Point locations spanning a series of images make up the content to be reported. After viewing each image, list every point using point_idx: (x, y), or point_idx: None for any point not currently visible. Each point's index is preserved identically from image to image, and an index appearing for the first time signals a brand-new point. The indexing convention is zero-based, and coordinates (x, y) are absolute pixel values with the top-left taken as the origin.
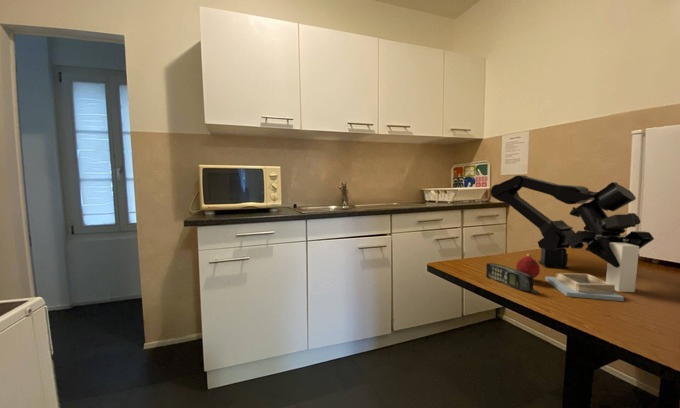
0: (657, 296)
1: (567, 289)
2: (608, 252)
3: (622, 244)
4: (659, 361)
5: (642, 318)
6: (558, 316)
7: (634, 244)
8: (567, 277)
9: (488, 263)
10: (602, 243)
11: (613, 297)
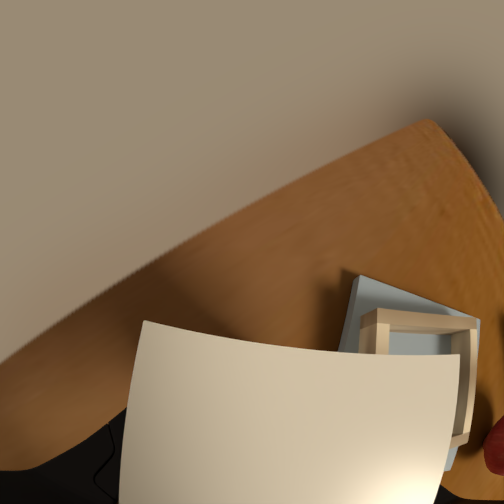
0: (160, 307)
1: None
2: None
3: (366, 484)
4: (436, 124)
5: (387, 188)
6: (501, 228)
7: (19, 487)
8: (468, 394)
9: None
10: (490, 502)
11: (384, 286)
